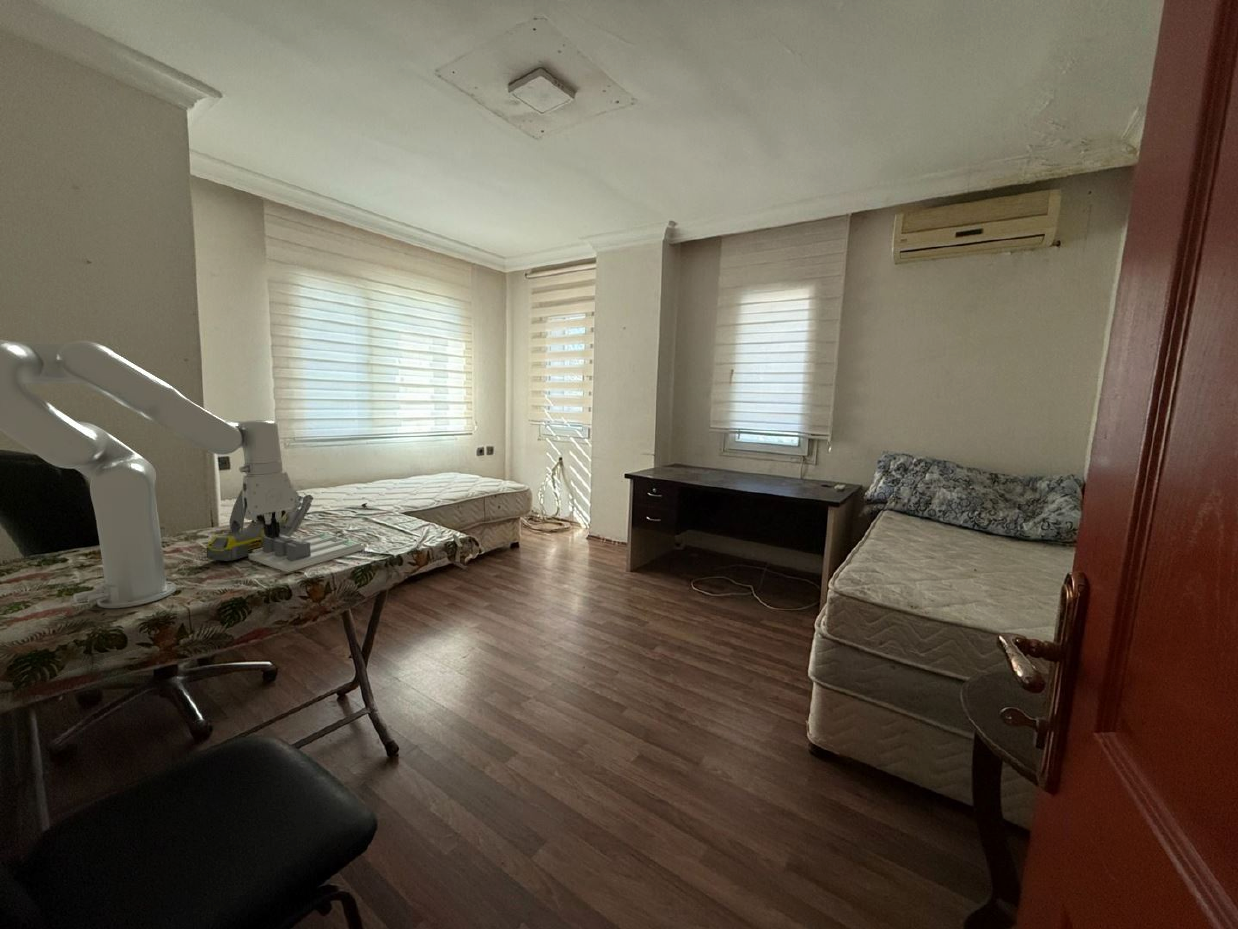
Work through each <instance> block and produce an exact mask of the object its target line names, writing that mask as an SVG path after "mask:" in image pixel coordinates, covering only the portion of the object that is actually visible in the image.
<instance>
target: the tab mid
mask: <svg viewBox="0 0 1238 929" xmlns="http://www.w3.org/2000/svg"><path fill="white" fill-rule="evenodd" d="M294 539H297V537H296V538H295V537H291V536H290V537H288V536H285V535H283V536H280V539H276V540H274V550H275V556H278V557H282V556H286V555H287V549H286V544H288V543H292V542H293V540H294Z"/></svg>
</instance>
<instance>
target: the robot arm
mask: <svg viewBox="0 0 1238 929" xmlns="http://www.w3.org/2000/svg"><path fill="white" fill-rule="evenodd" d="M38 383H40V384H42V383H43V384H44V383H45V384H47V383H49V384H50V383H51V384H52V383H55V384H58V383H59V384H60V383H62V384H63V383H80V384H82V385H83V386H86V387H88V388H90V389H91V390H93V391H95V392H98V393H100V394H102V395H104V396H106V397H108V398H109V399H111V400H112V401H114V402H117V403H118V404H120V405H121V406H123V407H125V408H128V409H129V410H131V411H133V412H135V413H137V414H139V415H140V416H142V417H143V418H145V419H147V420H149V421H151V422H153V423H155V424H157V425H159V426H160V427H163V428H165V429H166V430H168V431H169V432H171V433H173V434H175V435H177V436H179V437H180V438H182V439H184V440H186V441H188V442H190V443H192V444H194V445H195V446H198V447H199V448H201V449H203V450H204V451H207V452H209V453H211V454H215V455H224V456H225V455H229V454H232V453H234V452H236V451H237V450H238V449H240V448H242V451H243V458H244V463H243V466H241V467H239V469H238V470H239V472H240V473H244V474H246V475H244V476H243V479H242V488H241V490H242V499H243V508H244V511H245V512H246V515H245V518H244V520H247V521H252V520H258V521H260V522H261V523H263V527H264V534H265V535H266V537H268V538H272V539H273V538H275V537H279V533H280V525H279V522H280V521H281V518H282V517H283V516H284V514H285V513H288V512H290V511H292V510H293V506H294V504H295V502H294V495H293V490H292V486H291V484H292V483H291V479H290V478H289V474H288V471H284V469H283V462H282V453H281V443H280V435H279V428H278V424H277V422H276V421H274V420H271V419H253V420H247V421H238V420H224V419H222V418H219V417H218V416H217V415H214V414H213V413H211V412H210V411H207V410H206V409H204V408H203V407H201V406H199V405H197V404H196V403H194V402H193V401H191V400H190V399H189V398H188V397H185V396H184V395H183V394H182V393H180V392H179V391H178V390H177V388H174V387H173V386H172V385H170V384H168V383H167V382H165V381H164V380H162V379H161V378H158V377H156V376H155V375H154V374H151V373H150V372H148V371H146V370H144V369H143V368H141V367H139V366H138V365H136V364H134V363H133V362H131V361H129V360H127V359H126V358H124V357H122V356H120V355H119V354H117V353H116V352H114V351H113V350H112V349H110V348H109V347H107V346H105V345H102V344H100V343H97V342H94V341H90V340H89V341H88V340H75V341H72V342H37V341H36V342H35V341H34V342H33V341H32V342H31V341H30V342H29V341H10V340H6V339H0V432H2V433H3V434H5V435H6V436H7V437H8V438H10V439H12V440H14V441H15V442H17V443H18V444H20V445H21V446H23V447H24V448H26V449H28V450H29V451H31V452H32V453H34V454H35V455H36V456H38V457H39V458H40V459H42V460H43V461H45V462H46V463H48V464H51V465H52V466H53V467H54V466H55V467H58V468H62V469H71V470H72V469H74V470H76V471H78V472H79V473H81V474H82V475H84V476H86V477H87V478H89V480H90V482H89V494H90V498H91V499H90V500H91V502H92V506H93V511H94V517H95V522H96V529H97V534H98V541H99V549H100V554H101V560H102V561H101V562H102V570H103V577H104V581H101V582H99V586H97V587H94V589H93V590H86V591H82V592H77V593H73V601H74V603H76V604H77V603H81V602H86V601H87V602H88V603H91V602H95V601H96V603H97V605H98V607H100V608H105V609H120V608H129V607H137V606H141V605H145V604H149V603H152V602H155V601H158V600H161V599H164V598H166V597H168V596H170V595H172V594H173V593H174V592H176V590H177V586H176V584H177V583H175V582H172V581H167V579H166V571H165V563H164V561H165V560H164V553H163V545H162V536H161V530H160V529H161V527H160V519H159V513H158V512H159V511H158V504H157V497H156V488H155V484H156V480H157V473H156V470H155V467H154V466H153V464H151V462H150V461H148V460H147V459H146V458H144V457H143V456H141V455H140V454H139V453H137V452H136V451H135V450H133V449H131V448H130V447H129V446H127V445H126V444H125V443H123V442H122V441H120V440H118V439H117V438H116V437H115V436H113V435H112V434H110V433H109V432H107V431H106V430H105V429H102V428H101V427H99V426H97V425H95V424H93V423H89V422H86V421H77V420H75V419H73V418H72V417H70V416H68V415H66V414H65V413H64V412H62V411H61V410H59V409H57V408H56V407H55V406H54V405H52V404H51V403H50V402H48V401H47V400H45V399H44V398H42V397H40V396H39V395H37V394H35V393H34V392H33V391H32V390H30V389H29V388H28V387H27V386H26V385H25V384H38ZM269 513H271V517H270V516H269Z"/></svg>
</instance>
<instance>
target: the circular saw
mask: <svg viewBox="0 0 1238 929" xmlns="http://www.w3.org/2000/svg"><path fill="white" fill-rule="evenodd" d="M291 486H292V490H293V495H294V502H295V504H294V506H293V510H292V511H290V512H288V513H285V514H284V516H283V517H282V518H281V521H280V522H279V525H280V533H279V534H282V535H285V536H288V537H291V536H292V535H294V533H297V531H298V530H299V528H300V526H301V524H302V523H303V521H304V519H305V517H306V516H307V513H308V512H309V510H310V508H311V506H312V502H313V500H314V496H312V495H311V494H306V493H305V492H304V491H303V492H302V491H301V492H298V491H297V490H295V489H294V484H292V483H291ZM299 494H304V495H305V496H302V495H299ZM245 515H246V512H245V511H244V508H243V499H242V489H241V490H240V492H239V493H238V496H237V498H236V500H235V502H234V505H233V507H232V510H231V514H230V517H229V530H230V531H227V532H226V533H225V532H224V533H221V534H218V535H217V536H213V537H212V539H211V540H210V542H208V543H207V544H206V558H207V559H208V560H210V561H211V560H213V561H225V562H228V561H229V562H230V561H231V562H232V561H235V560H238V559H241V558H245V557H249V556H248V554H250V553H253V552H252V550H255V549H259V548H263V544H262V536H266V535H265V534H264V527H263V523H261V522H260V521H258V520H250V522H249V525H248V526H246V528H244V522H245ZM269 516H270V517H271V513H269Z"/></svg>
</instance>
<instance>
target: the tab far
mask: <svg viewBox="0 0 1238 929" xmlns="http://www.w3.org/2000/svg"><path fill="white" fill-rule="evenodd" d="M280 536H283V535H282V534H279V537H275V538H273V539H272V538H268V537H266V536H262V544H263V552H266V553H270V552H274V551H275V550H274V540H276V539H280Z"/></svg>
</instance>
